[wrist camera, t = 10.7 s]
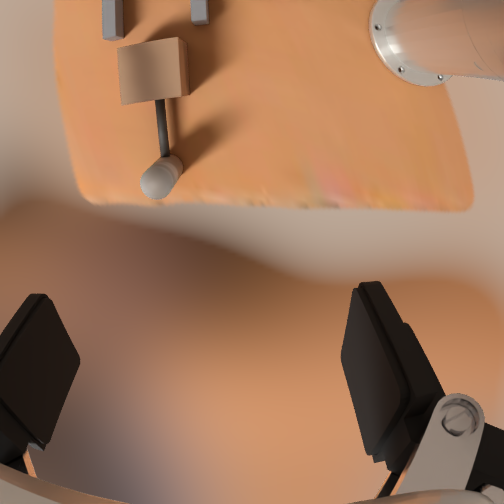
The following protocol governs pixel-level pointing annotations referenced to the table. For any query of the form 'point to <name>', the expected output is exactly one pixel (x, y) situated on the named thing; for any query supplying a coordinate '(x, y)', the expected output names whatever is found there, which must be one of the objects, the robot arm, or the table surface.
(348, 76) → the table surface
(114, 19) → the lane rack
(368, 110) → the table surface
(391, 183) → the table surface
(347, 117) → the table surface
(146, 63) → the tan block with knob
